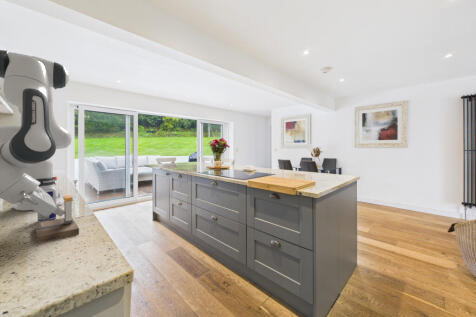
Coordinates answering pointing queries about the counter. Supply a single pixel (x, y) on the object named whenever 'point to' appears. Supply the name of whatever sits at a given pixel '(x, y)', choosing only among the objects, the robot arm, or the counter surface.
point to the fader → (68, 209)
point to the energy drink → (52, 216)
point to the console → (55, 230)
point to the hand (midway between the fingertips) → (62, 213)
